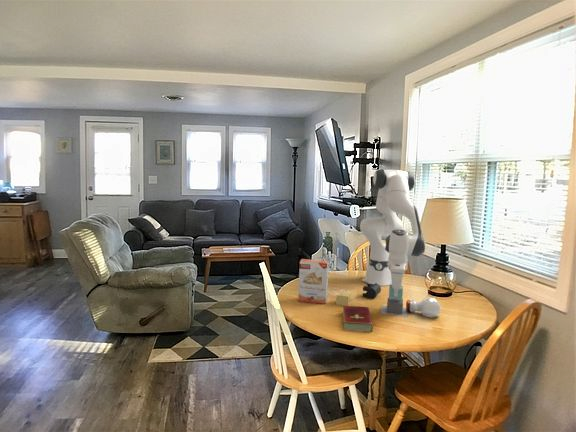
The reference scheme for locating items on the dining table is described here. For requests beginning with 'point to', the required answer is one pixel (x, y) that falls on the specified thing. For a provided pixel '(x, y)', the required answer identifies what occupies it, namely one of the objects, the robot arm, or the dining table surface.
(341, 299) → the ochre brick
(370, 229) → the robot arm
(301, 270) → the cracker box
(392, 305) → the base brick
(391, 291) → the teal brick
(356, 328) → the hardcover book
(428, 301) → the potion bottle
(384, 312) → the build plate
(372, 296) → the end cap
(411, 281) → the dining table surface
